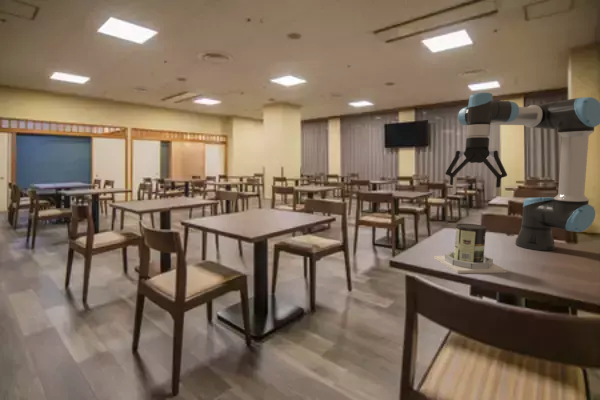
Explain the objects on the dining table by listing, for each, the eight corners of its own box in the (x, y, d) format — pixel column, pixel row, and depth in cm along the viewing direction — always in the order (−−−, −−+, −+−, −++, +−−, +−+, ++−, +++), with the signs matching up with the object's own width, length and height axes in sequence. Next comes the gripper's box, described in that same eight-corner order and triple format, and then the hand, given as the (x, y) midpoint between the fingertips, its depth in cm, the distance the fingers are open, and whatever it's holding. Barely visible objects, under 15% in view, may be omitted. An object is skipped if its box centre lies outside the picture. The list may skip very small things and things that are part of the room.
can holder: (477, 257, 140) (477, 250, 140) (506, 272, 123) (506, 264, 122) (434, 258, 139) (434, 251, 139) (457, 273, 121) (458, 264, 121)
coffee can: (478, 259, 135) (481, 224, 133) (487, 267, 125) (490, 229, 123) (450, 257, 137) (453, 222, 135) (456, 265, 127) (459, 227, 125)
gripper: (518, 136, 121) (513, 196, 124) (444, 138, 136) (441, 192, 138) (517, 135, 115) (511, 198, 118) (439, 137, 130) (436, 193, 132)
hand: (473, 195), depth 128 cm, fingers open, 13 cm apart
